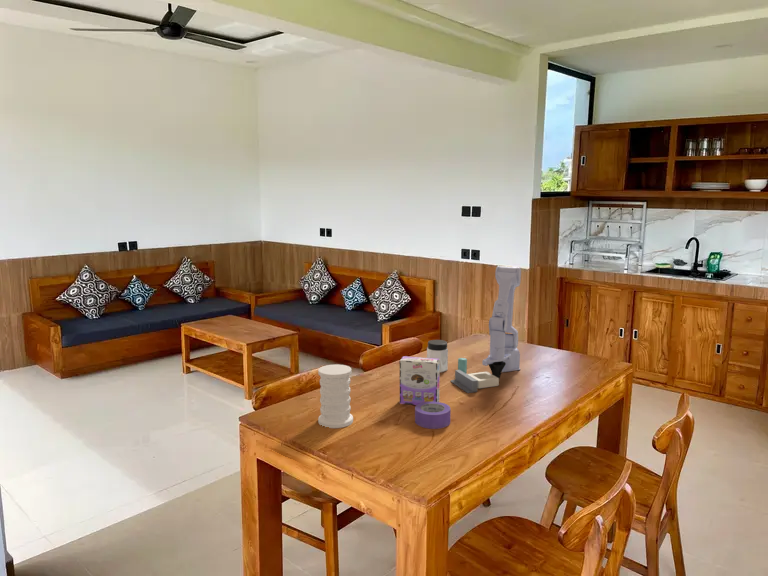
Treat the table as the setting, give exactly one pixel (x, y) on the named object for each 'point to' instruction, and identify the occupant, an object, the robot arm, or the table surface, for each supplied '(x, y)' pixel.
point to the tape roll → (432, 415)
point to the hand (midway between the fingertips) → (496, 379)
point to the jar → (438, 352)
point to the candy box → (419, 380)
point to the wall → (465, 382)
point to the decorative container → (335, 396)
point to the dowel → (462, 364)
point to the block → (485, 379)
